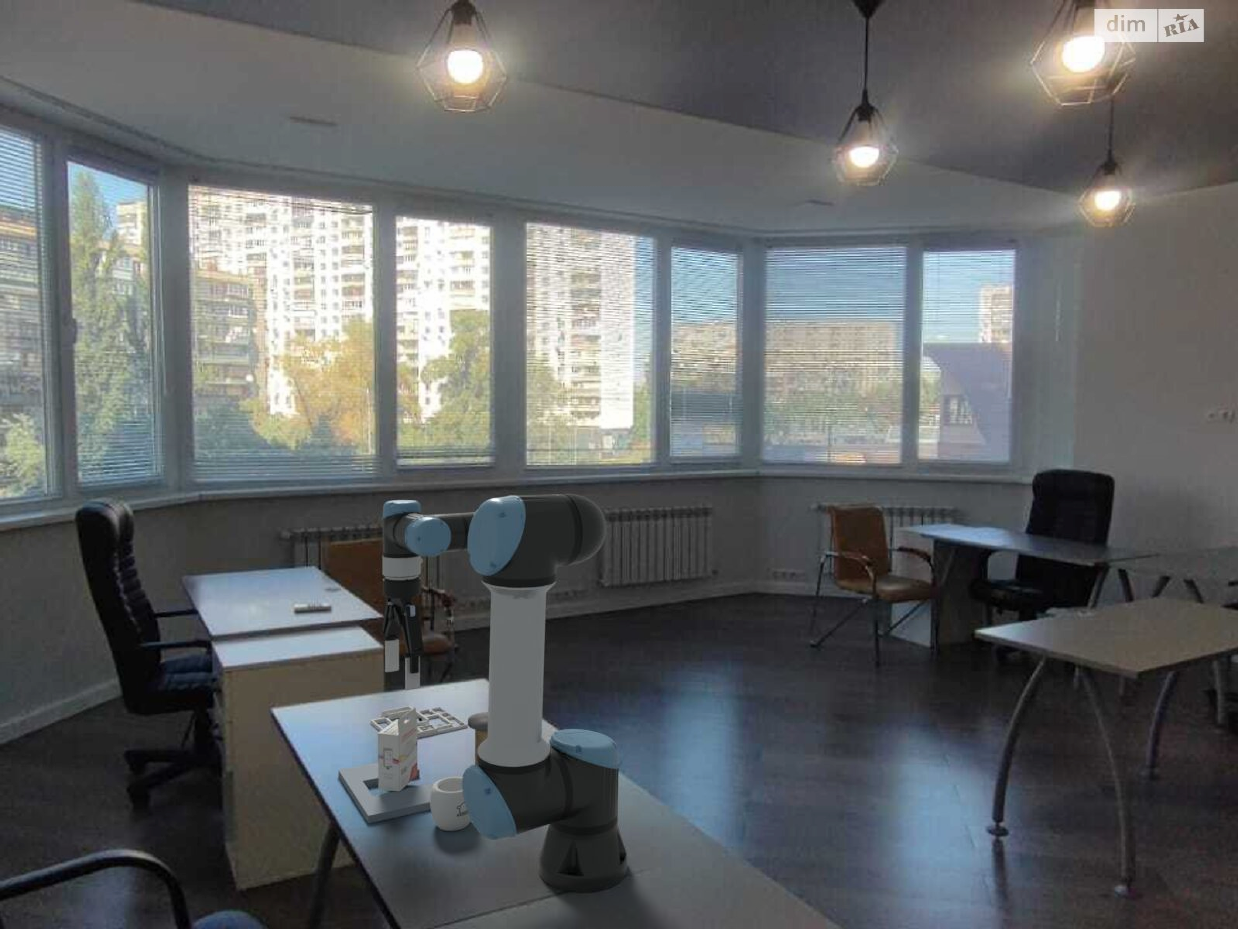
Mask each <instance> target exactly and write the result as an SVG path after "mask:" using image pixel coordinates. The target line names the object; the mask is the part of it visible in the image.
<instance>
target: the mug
mask: <svg viewBox="0 0 1238 929" xmlns="http://www.w3.org/2000/svg"><path fill="white" fill-rule="evenodd" d="M462 778H463V776H449V777H444V778H441V779H438V780H437V781H435V782H434V783H433V787H432V789H431V795H430V807H431V809H430V812H431V816H432V820H433V823H434V824H435V826H436V827H437V828H438V829H440V830H442V831H447V832H453V831H454V832H455V831H459V830H460V831H461V830H462V829H464V828H467V827H468V826H469V824H470V823H471V822H472V820H471V818H470V816H469V814H468V811H467V808H466V805H465V801H464V797H463V790H462Z"/></svg>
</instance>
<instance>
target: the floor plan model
mask: <svg viewBox="0 0 1238 929" xmlns="http://www.w3.org/2000/svg"><path fill="white" fill-rule="evenodd" d="M413 708H414V707H412V706H410V705H407V706H406V705H405V706H401V707H397V708H391V709H386V710H382V711H381V717H379V718H374V719H373V718H372V719H370V725H372V726H373V727H374V728H375V729H376V730H378V732H380V731H382V730H383V729H384V728H383V727H382V726H381V725H379V724H380V723H386V724H388V725H390V724H391V723H392V722H393V721H392V720H396V719H400V718H401V717H402V716H404V715H405V714H406V713H408V712H409V711H411V710H412V709H413ZM437 711H440V712H439V713H437ZM426 713H428V714H427V715H425V714H426ZM416 716H417V718H418V720H419V721H417V739H419V738H420V739H421V738H425V737H428V736H429V737H430V736H432V735H433V736H434V735H439V734H440V735H441V734H443V733H448V732H452V731H458V730H462V729H467V728H468V727H469V726H468V723H466V722H464V720H461V719H460V718H459V717H457V716H455V715H453V714H451V713H450V712H448V711H447V710H445V709H443V708H442V707H440V706H439V707H434V708H433V707H432V708H429V709H423V710H417V709H416ZM436 718H438V719H440V720H442V721H443V722H444V723H445V724H443V725H442V724H440V723H439V724H437V726H435V725H434V724H433V723H430V720H431V719H436ZM406 720H410V717H409V718H408V717H407V719H406ZM451 720H452V721H455V722H456V723H458V724H459V725H457V726H456V725H454V722H452V721H451Z"/></svg>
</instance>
